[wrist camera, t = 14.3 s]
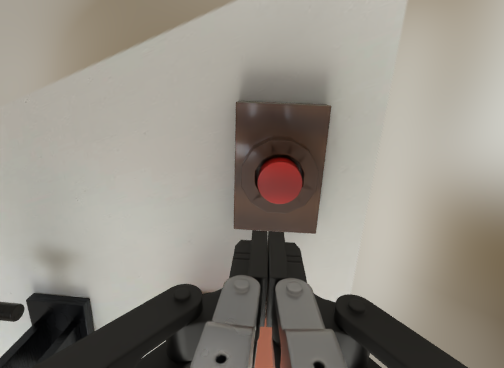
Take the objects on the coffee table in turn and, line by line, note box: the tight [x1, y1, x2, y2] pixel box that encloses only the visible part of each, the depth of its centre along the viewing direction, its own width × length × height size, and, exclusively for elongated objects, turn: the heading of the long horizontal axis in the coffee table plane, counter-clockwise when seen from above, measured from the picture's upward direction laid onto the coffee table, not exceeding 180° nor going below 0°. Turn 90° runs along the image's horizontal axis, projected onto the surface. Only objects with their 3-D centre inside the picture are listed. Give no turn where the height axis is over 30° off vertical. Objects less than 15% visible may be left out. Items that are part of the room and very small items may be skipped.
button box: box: [234, 101, 331, 234], centre depth 26 cm, size 12×8×4 cm, turn 178°
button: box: [258, 157, 302, 204], centre depth 24 cm, size 4×4×2 cm
